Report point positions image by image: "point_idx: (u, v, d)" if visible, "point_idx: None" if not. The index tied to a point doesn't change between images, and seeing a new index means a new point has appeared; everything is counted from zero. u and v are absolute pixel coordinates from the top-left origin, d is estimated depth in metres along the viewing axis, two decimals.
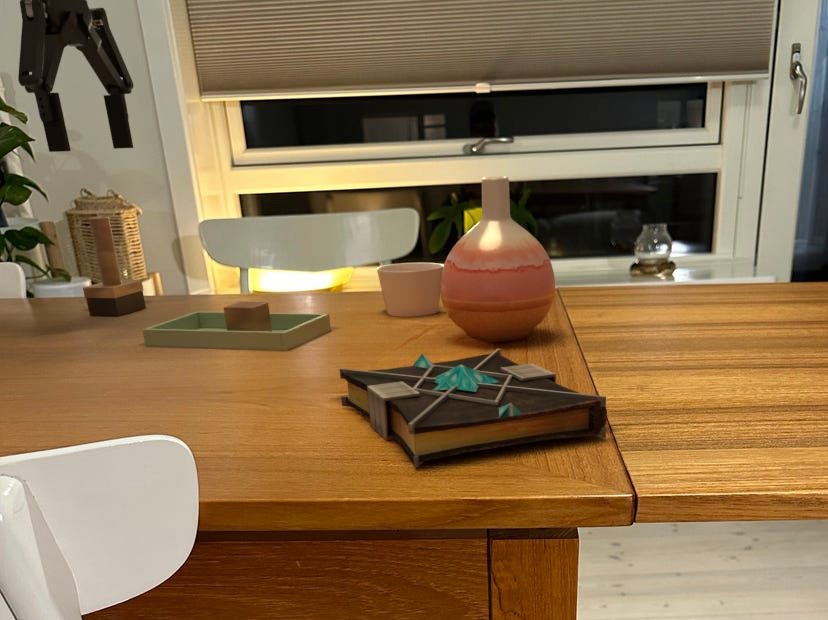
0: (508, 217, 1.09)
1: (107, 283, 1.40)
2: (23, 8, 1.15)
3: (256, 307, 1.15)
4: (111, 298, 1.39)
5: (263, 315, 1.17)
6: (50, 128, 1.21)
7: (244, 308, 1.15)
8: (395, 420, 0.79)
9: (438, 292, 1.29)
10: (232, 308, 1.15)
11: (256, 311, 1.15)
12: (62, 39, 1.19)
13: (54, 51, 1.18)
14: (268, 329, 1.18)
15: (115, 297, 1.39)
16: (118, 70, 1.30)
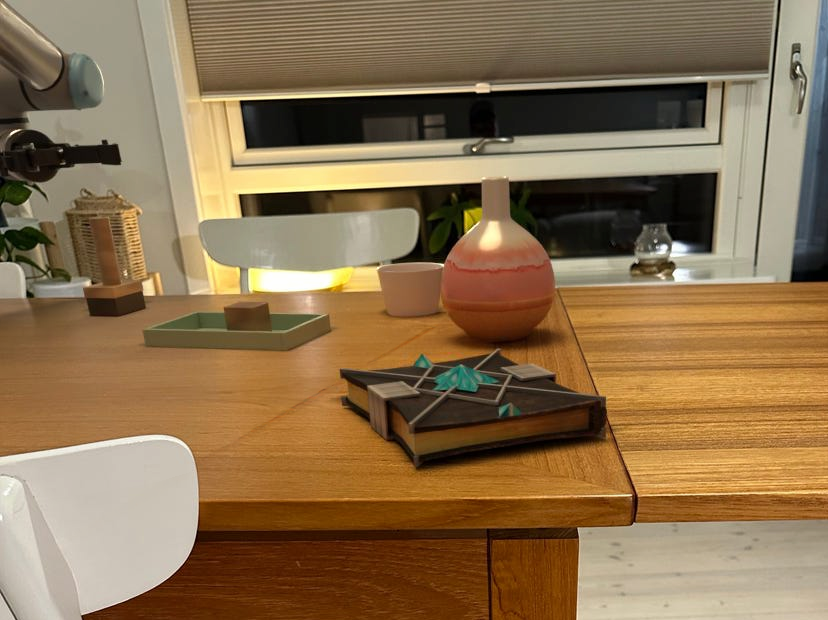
0: (508, 217, 1.09)
1: (107, 283, 1.40)
2: None
3: (256, 307, 1.15)
4: (111, 298, 1.39)
5: (263, 315, 1.17)
6: None
7: (244, 308, 1.15)
8: (395, 419, 0.79)
9: (438, 292, 1.29)
10: (232, 308, 1.15)
11: (256, 311, 1.15)
12: (72, 166, 1.50)
13: None
14: (268, 329, 1.18)
15: (115, 297, 1.39)
16: None
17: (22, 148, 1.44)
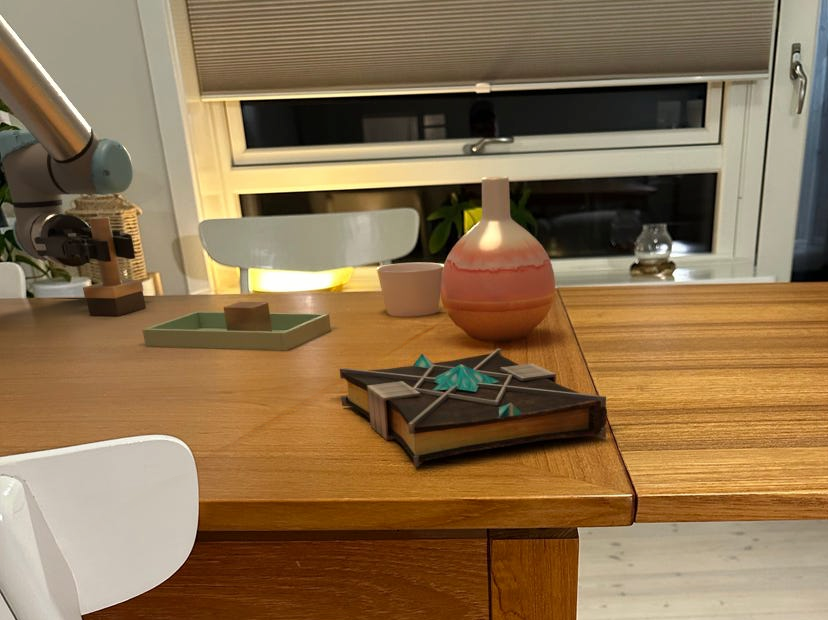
0: (508, 217, 1.09)
1: (107, 283, 1.40)
2: None
3: (256, 307, 1.15)
4: (111, 298, 1.39)
5: (263, 315, 1.17)
6: None
7: (244, 308, 1.15)
8: (395, 419, 0.79)
9: (438, 292, 1.29)
10: (232, 308, 1.15)
11: (256, 311, 1.15)
12: None
13: None
14: (268, 329, 1.18)
15: (115, 297, 1.39)
16: None
17: (75, 234, 1.43)
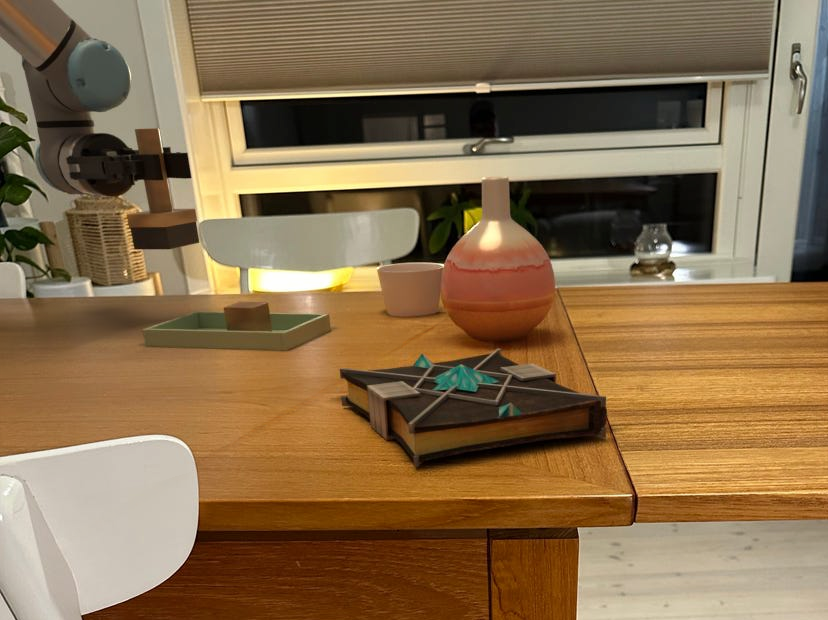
0: (508, 217, 1.09)
1: (156, 210, 1.16)
2: None
3: (256, 307, 1.15)
4: (162, 227, 1.15)
5: (263, 315, 1.17)
6: None
7: (244, 308, 1.15)
8: (395, 419, 0.79)
9: (438, 292, 1.29)
10: (232, 308, 1.15)
11: (256, 311, 1.15)
12: None
13: None
14: (268, 329, 1.18)
15: (166, 226, 1.15)
16: None
17: (116, 153, 1.19)
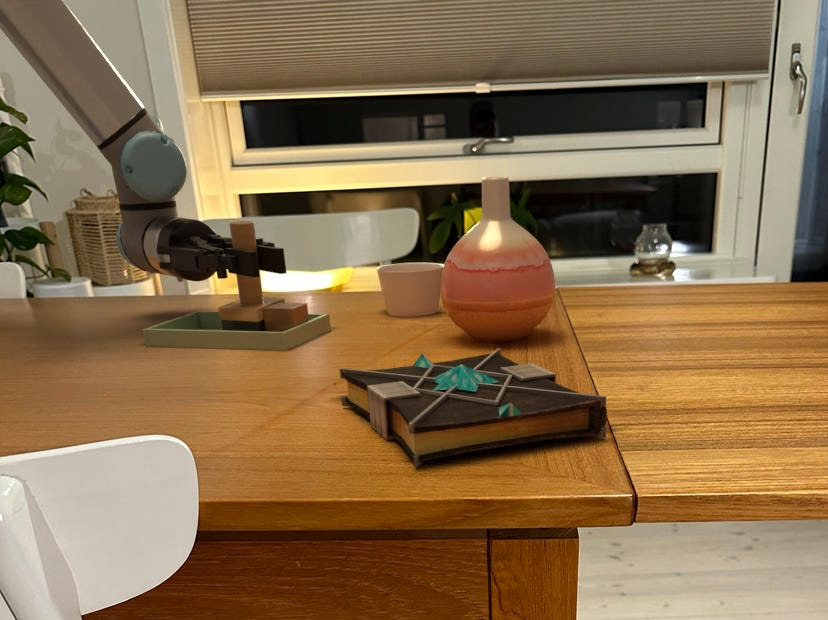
0: (508, 217, 1.09)
1: (247, 302, 1.15)
2: None
3: (296, 308, 1.14)
4: (254, 321, 1.14)
5: (302, 316, 1.15)
6: None
7: (284, 309, 1.13)
8: (395, 419, 0.79)
9: (438, 292, 1.29)
10: (271, 309, 1.14)
11: (296, 312, 1.14)
12: None
13: None
14: None
15: (259, 320, 1.14)
16: None
17: (206, 243, 1.18)
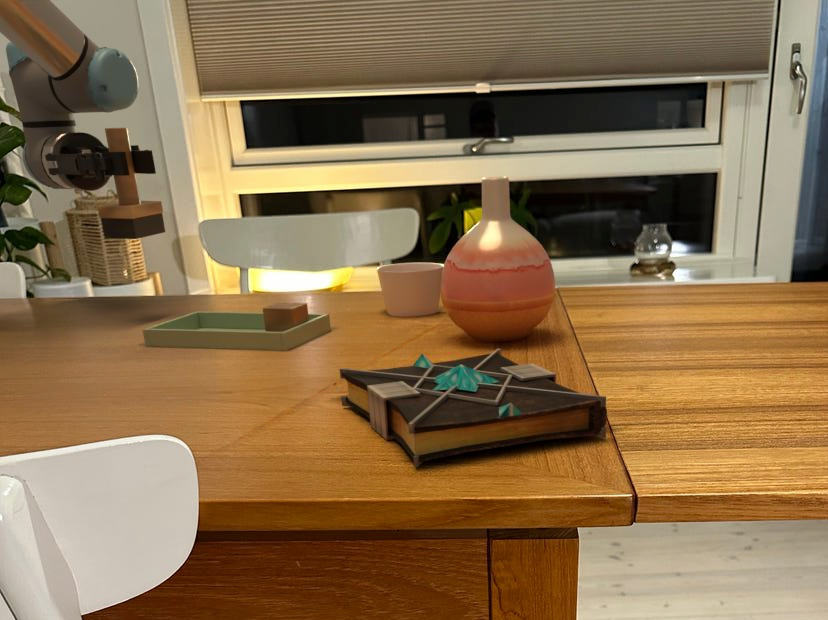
0: (508, 217, 1.09)
1: (124, 202, 1.28)
2: None
3: (296, 308, 1.14)
4: (129, 218, 1.26)
5: (302, 316, 1.15)
6: None
7: (284, 309, 1.13)
8: (395, 419, 0.79)
9: (438, 292, 1.29)
10: (271, 309, 1.14)
11: (296, 312, 1.14)
12: None
13: None
14: None
15: (133, 217, 1.26)
16: None
17: (90, 151, 1.31)
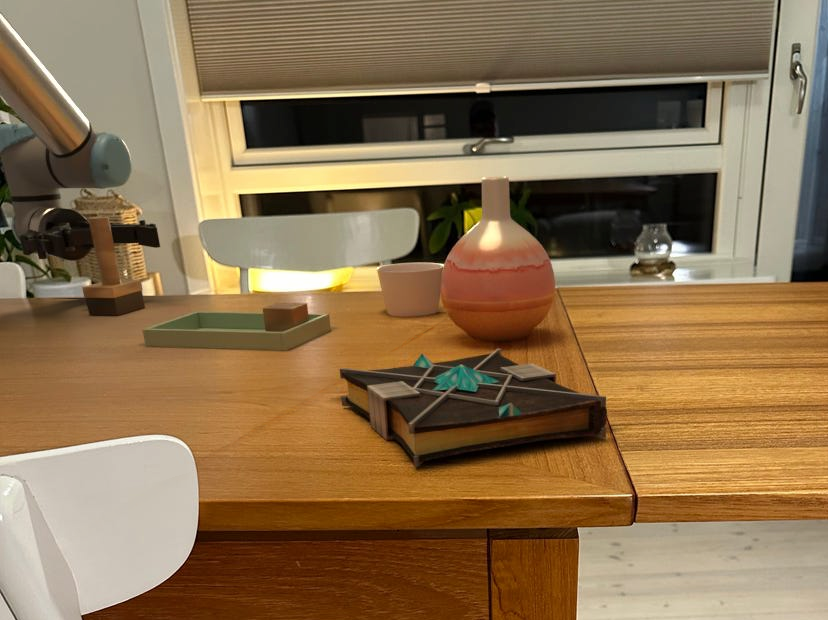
0: (508, 217, 1.09)
1: (106, 283, 1.40)
2: None
3: (296, 308, 1.14)
4: (111, 297, 1.39)
5: (302, 316, 1.15)
6: None
7: (284, 309, 1.13)
8: (395, 419, 0.79)
9: (438, 292, 1.29)
10: (271, 309, 1.14)
11: (296, 312, 1.14)
12: None
13: None
14: None
15: (115, 297, 1.39)
16: None
17: (59, 229, 1.42)
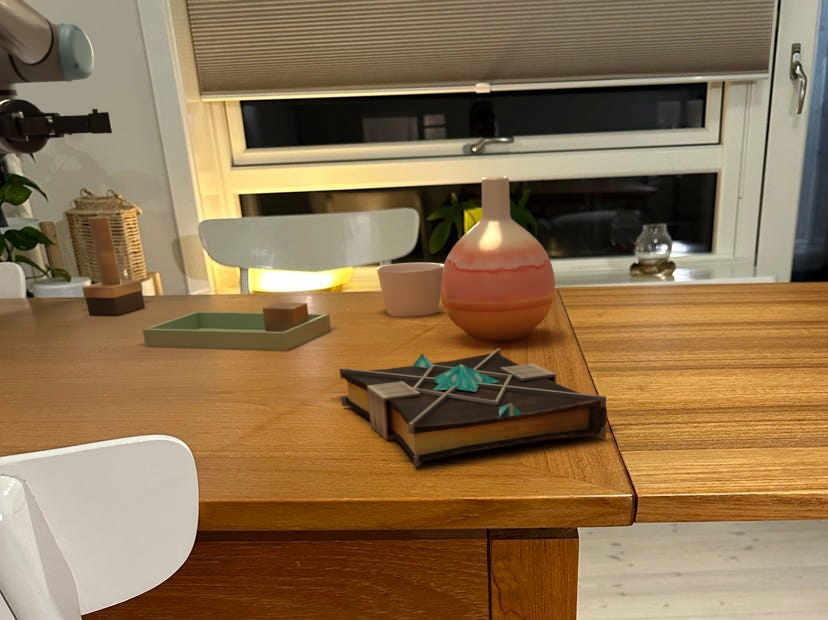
0: (508, 217, 1.09)
1: (106, 283, 1.40)
2: None
3: (296, 308, 1.14)
4: (111, 297, 1.39)
5: (302, 316, 1.15)
6: None
7: (284, 309, 1.13)
8: (395, 419, 0.79)
9: (438, 292, 1.29)
10: (271, 309, 1.14)
11: (296, 312, 1.14)
12: (62, 136, 1.48)
13: (74, 132, 1.48)
14: None
15: (115, 297, 1.39)
16: None
17: (11, 116, 1.42)
